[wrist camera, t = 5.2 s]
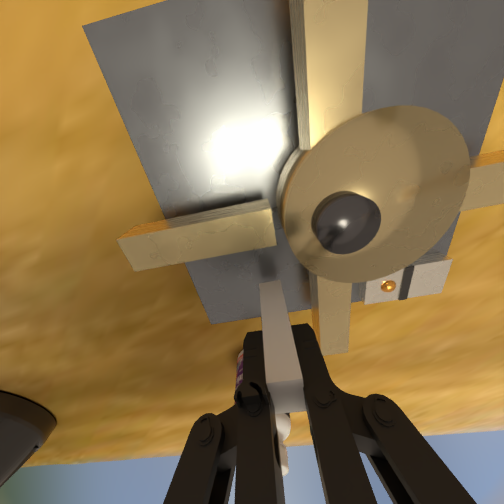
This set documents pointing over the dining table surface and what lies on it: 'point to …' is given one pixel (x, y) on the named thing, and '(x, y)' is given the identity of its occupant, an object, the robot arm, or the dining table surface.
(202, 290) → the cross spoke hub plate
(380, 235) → the four spoke knob plate
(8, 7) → the dining table surface
